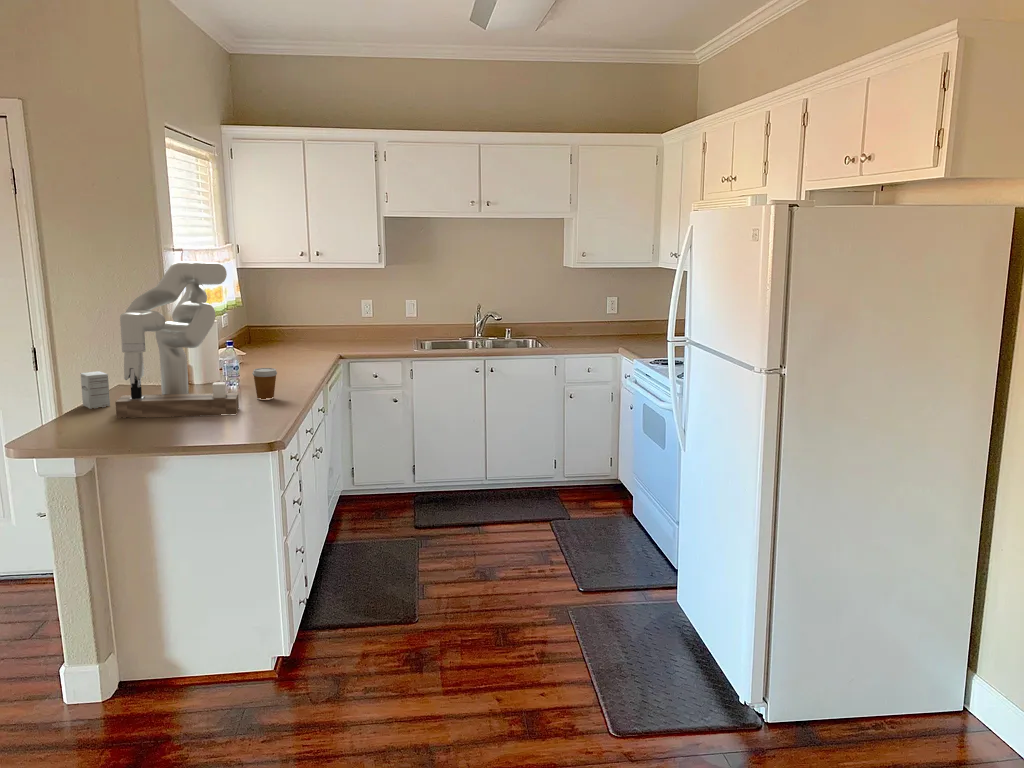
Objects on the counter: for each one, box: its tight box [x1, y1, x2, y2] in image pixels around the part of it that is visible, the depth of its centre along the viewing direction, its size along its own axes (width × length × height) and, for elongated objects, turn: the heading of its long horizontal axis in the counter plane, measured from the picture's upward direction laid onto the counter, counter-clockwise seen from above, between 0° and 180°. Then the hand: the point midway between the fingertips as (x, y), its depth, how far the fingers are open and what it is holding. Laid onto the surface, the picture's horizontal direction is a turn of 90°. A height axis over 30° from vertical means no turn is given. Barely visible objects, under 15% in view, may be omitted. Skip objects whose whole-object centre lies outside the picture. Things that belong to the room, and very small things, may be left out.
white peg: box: [211, 381, 227, 398], centre depth 280 cm, size 4×4×6 cm
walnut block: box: [115, 392, 240, 419], centre depth 278 cm, size 11×40×6 cm, turn 105°
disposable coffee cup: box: [252, 367, 278, 399], centre depth 305 cm, size 10×10×12 cm
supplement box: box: [80, 370, 111, 410], centre depth 284 cm, size 7×7×13 cm
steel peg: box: [129, 397, 145, 400], centre depth 274 cm, size 4×4×6 cm
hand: (136, 397), depth 273 cm, fingers closed
